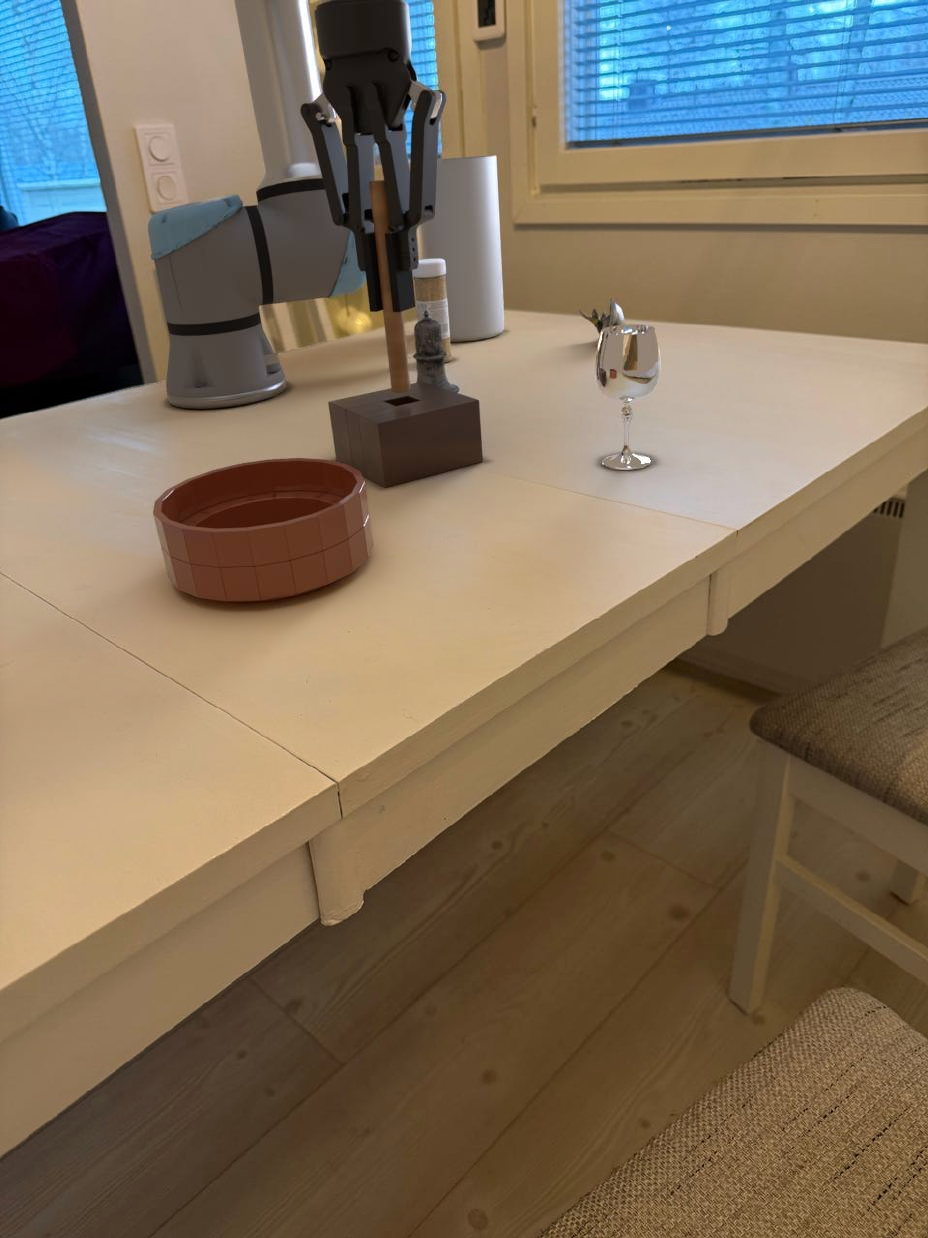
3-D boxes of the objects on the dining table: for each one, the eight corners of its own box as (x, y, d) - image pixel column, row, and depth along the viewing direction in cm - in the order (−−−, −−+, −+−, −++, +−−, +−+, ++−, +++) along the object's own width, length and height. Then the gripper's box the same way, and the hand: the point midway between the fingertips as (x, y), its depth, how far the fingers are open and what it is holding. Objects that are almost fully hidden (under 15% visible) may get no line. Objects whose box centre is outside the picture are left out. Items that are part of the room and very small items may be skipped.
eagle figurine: (567, 336, 132) (600, 333, 124) (586, 289, 132) (620, 283, 124) (608, 359, 136) (642, 357, 128) (627, 313, 135) (662, 309, 127)
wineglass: (619, 476, 82) (620, 339, 76) (582, 460, 86) (581, 329, 81) (670, 463, 84) (675, 328, 78) (632, 448, 88) (634, 320, 83)
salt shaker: (455, 429, 98) (447, 314, 93) (403, 430, 100) (391, 316, 94) (466, 414, 104) (458, 304, 98) (416, 415, 105) (406, 306, 99)
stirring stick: (388, 390, 87) (365, 181, 79) (404, 386, 88) (383, 179, 79) (397, 393, 85) (374, 181, 77) (414, 390, 86) (393, 179, 78)
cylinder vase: (481, 344, 137) (470, 158, 126) (411, 341, 143) (394, 163, 132) (518, 327, 147) (511, 153, 135) (451, 325, 153) (438, 158, 141)
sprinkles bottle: (449, 356, 132) (441, 256, 125) (455, 362, 128) (448, 259, 121) (417, 359, 131) (408, 259, 125) (423, 366, 127) (414, 263, 121)
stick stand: (336, 460, 92) (327, 401, 89) (428, 438, 96) (422, 381, 94) (385, 487, 84) (377, 423, 81) (483, 461, 88) (479, 399, 85)
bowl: (148, 561, 72) (130, 489, 69) (324, 513, 79) (313, 445, 76) (208, 633, 61) (189, 550, 58) (408, 570, 67) (400, 492, 64)
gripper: (257, 8, 73) (302, 315, 84) (416, -20, 66) (443, 318, 77) (313, 14, 78) (349, 301, 89) (465, -11, 72) (483, 302, 83)
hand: (392, 308), depth 83 cm, fingers closed on stirring stick, 2 cm apart
